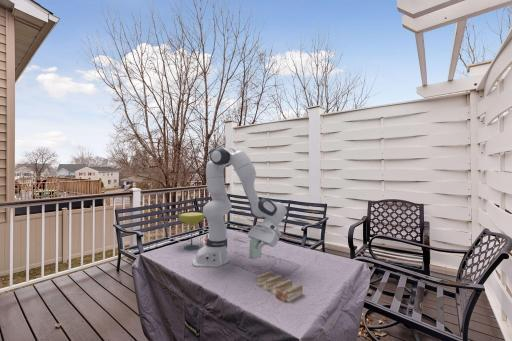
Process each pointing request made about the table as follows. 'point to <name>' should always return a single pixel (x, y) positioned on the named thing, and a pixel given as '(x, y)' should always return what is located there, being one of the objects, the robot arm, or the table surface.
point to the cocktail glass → (191, 223)
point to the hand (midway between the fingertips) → (254, 248)
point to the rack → (279, 286)
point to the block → (254, 249)
